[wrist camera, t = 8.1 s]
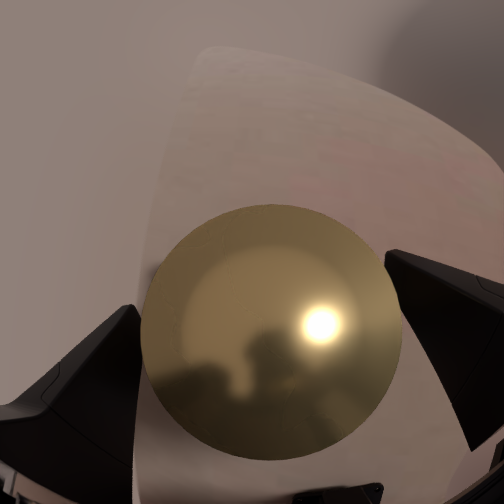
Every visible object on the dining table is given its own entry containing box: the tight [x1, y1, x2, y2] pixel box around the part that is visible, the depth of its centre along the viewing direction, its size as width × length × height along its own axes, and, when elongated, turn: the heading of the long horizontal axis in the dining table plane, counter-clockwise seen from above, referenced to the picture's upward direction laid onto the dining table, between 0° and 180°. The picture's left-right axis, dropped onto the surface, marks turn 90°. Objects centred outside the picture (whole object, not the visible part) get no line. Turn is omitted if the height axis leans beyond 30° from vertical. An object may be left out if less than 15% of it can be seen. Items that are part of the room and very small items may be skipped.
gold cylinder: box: [141, 204, 402, 461], centre depth 10 cm, size 4×4×12 cm
